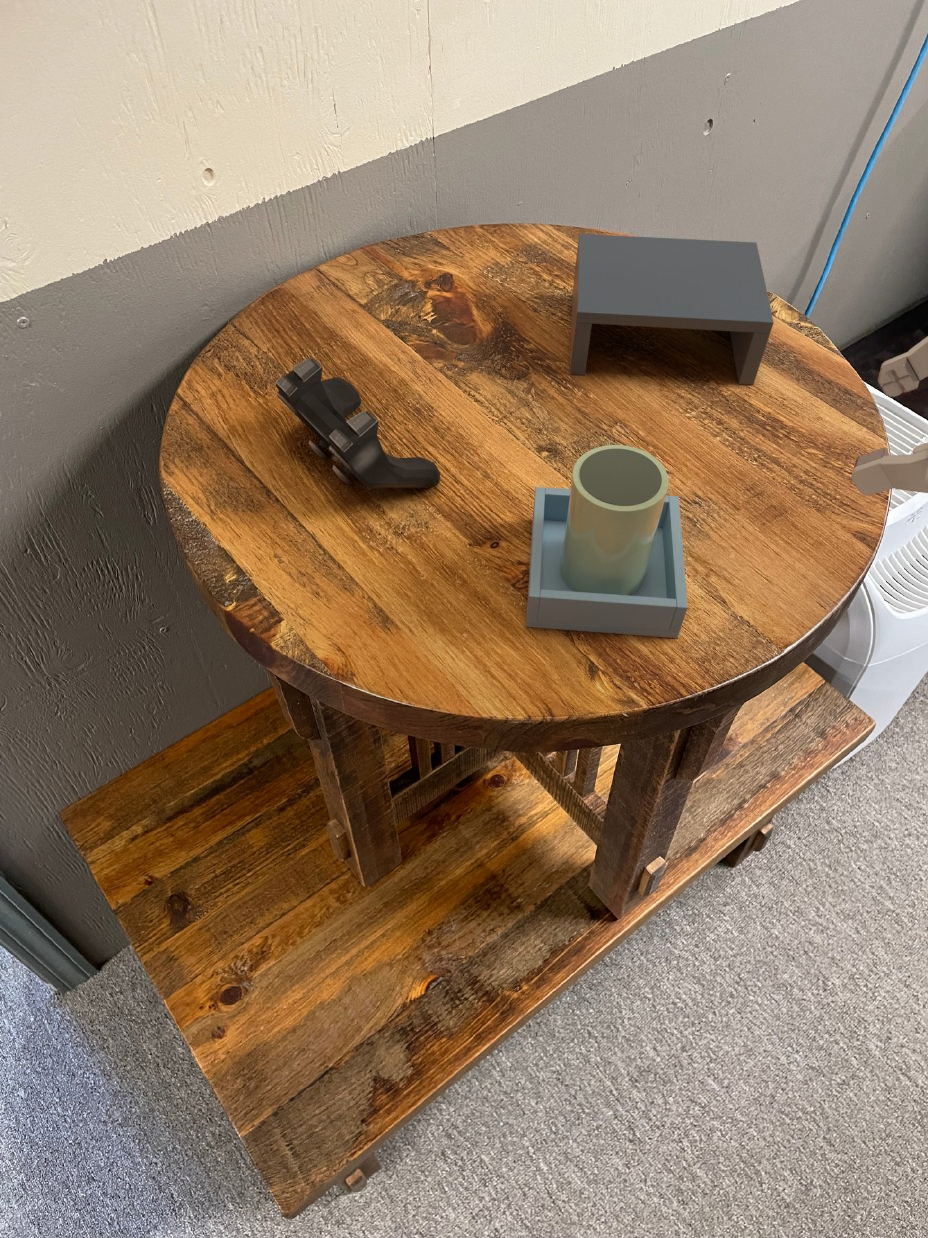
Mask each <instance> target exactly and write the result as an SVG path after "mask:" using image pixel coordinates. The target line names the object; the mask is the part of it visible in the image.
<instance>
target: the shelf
mask: <svg viewBox="0 0 928 1238" xmlns="http://www.w3.org/2000/svg"><path fill="white" fill-rule="evenodd" d="M573 276H574V277H573V284H572V292H571V293H572V294H571V320H570V321H571V322H570V323H571V325H570V353H569V355H570V356H569V357H570V358H569V375H573V376H575V375H576V376H577V375H578V376H585V375H586V371H587V370H586V369H587V364H588V363H587V362H588V356H589V349H590V340H591V334H592V325H612V326H627V327H628V326H629V327H647V328H648V327H649V328H663V329H664V328H665V329H683V330H684V329H686V330H699V331H701V330H702V331H723V332H729V334H730V340H731V346H732V347H731V348H732V354H733V359H734V365H735V371H736V377H737V382H738V383H737V384H738V385H751V386H754V384H755V382H756V378H757V376H758V372H759V370H760V366H761V363H762V360H763V357H764V354H765V351H766V348H767V344H768V341H769V338H770V335H771V332H772V329H773V326H774V324H775V323H774V318H773V317H774V316H773V313H772V308H771V303H770V299H769V295H768V289H767V284H766V280H765V275H764V271H763V266H762V261H761V256H760V252H759V248H758V243H757V241H756V242H755V241H732V240H713V239H693V238H692V239H691V238H674V237H673V238H672V237H655V236H654V237H653V236H650V237H649V236H631V235H614V234H613V235H612V234H611V235H610V234H593V233H592V234H590V233H578V240H577V246H576V258H575V266H574V275H573Z"/></svg>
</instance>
